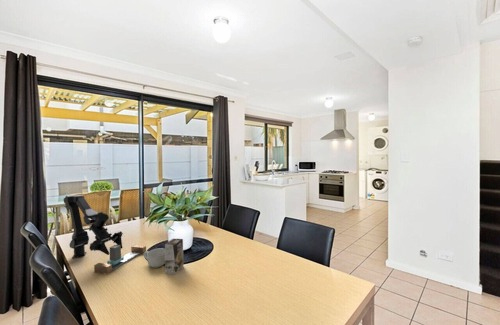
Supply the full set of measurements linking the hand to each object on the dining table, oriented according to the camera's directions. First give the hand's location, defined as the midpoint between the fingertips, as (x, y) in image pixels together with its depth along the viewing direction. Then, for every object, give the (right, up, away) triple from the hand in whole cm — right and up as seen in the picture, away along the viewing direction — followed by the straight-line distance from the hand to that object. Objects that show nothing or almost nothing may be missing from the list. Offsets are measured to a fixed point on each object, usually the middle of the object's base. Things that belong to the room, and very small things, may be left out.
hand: (115, 251), depth 139 cm
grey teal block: (0, -6, +1) cm, 6 cm away
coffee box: (+36, -8, -6) cm, 38 cm away
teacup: (+23, -8, 0) cm, 24 cm away
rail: (+1, -8, +6) cm, 10 cm away
